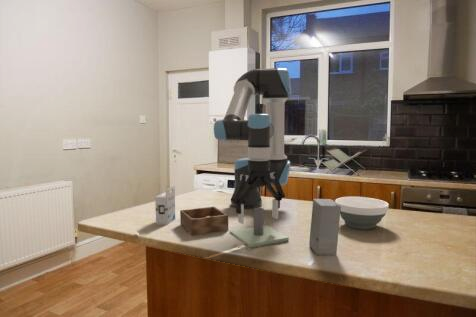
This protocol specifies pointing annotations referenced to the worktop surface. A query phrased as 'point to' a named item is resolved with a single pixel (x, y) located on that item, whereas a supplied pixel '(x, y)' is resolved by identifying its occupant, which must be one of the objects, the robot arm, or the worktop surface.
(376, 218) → the bowl
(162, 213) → the ink box
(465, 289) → the worktop surface
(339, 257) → the worktop surface
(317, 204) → the skincare box
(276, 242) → the grey mat
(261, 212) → the lid
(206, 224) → the walnut box
